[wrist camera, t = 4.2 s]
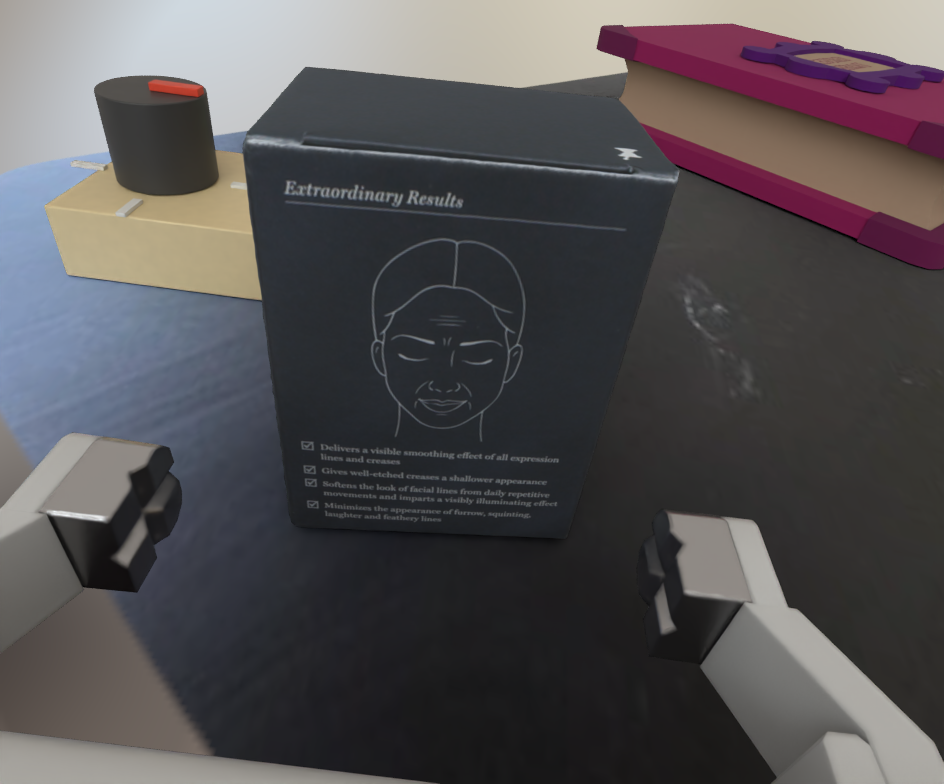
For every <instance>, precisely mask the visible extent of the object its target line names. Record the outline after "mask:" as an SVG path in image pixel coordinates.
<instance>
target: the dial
mask: <svg viewBox="0 0 944 784" xmlns="http://www.w3.org/2000/svg"><path fill="white" fill-rule="evenodd" d="M94 93H95V97H96V101H97V105H98V108H99V112H100V116H101V120H102V124H103V128H104V132H105V136H106V140H107V144H108V148H109V152H110V156H111V160H112V164H113V168H114V172H115V176H116V179H117V181H118V183H119V184H120V185H121V186H123V187H124V188H126V189H129V190H131V191H135V192H139V193H144V194H152V195H178V194H186V193H192V192H196V191H200V190H203V189H205V188H208V187H210V186H211V185H213V184H214V183H215V182H216V181H217V180H218V178H219V173H218V166H217V159H216V152H215V145H214V139H213V132H212V125H211V118H210V112H209V105H208V98H207V92H206V89H205V88H204V87H203V86H202V85H200V84H198V83H195V82H192V81H189V80H185V79H180V78H174V77H165V76H128V77H120V78H114V79H110V80H106V81H104V82H101V83H99V84H98V85H96V86H95V88H94Z"/></svg>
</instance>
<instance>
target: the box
mask: <svg viewBox="0 0 944 784" xmlns="http://www.w3.org/2000/svg"><path fill="white" fill-rule="evenodd" d="M243 159H244V167H245V175H246V184H247V195H248V201H249V213H250V220H251V226H252V233H253V240H254V245H255V258H256V263H257V269H258V278H259V283H260V289H261V296H262V307H263V319H264V323H265V329H266V336H267V344H268V354H269V361H270V369H271V379H272V384H273V394H274V399H275V409H276V418H277V423H278V431H279V435H280V446H281V450H282V459H283V466H284V479H285V484H286V490H287V499H288V507H289V515H290V518H291V522H292V523H293V524H294V525H295V526H297V527H305V528H331V529H359V530H376V531H403V532H426V533H446V534H470V535H493V536H519V537H537V538H561V539H565V538H567V536H568V534H569V531H570V528H571V524H572V521H573V518H574V515H575V511H576V508H577V505H578V502H579V500H580V496H581V493H582V489H583V486H584V483H585V480H586V476H587V473H588V470H589V467H590V464H591V461H592V457H593V454H594V451H595V448H596V445H597V441H598V437H599V434H600V431H601V427H602V424H603V421H604V418H605V415H606V412H607V409H608V405H609V402H610V398H611V395H612V392H613V389H614V384H615V382H616V379H617V377H618V373H619V370H620V366H621V363H622V360H623V357H624V354H625V351H626V347H627V343H628V340H629V337H630V333H631V330H632V327H633V324H634V321H635V318H636V315H637V311H638V308H639V305H640V302H641V299H642V294H643V290H644V287H645V285H646V282H647V279H648V275H649V271H650V268H651V265H652V262H653V259H654V256H655V252H656V249H657V246H658V243H659V240H660V237H661V234H662V231H663V228H664V224H665V220H666V216H667V213H668V209H669V206H670V203H671V200H672V197H673V194H674V192H675V189H676V186H677V183H678V174H679V169H678V167H676V166H675V165H674V164H673V163H672V162H671V161H669V160H668V158H667V157H666V156H665V155H664V153H663V152H662V151H661V150H660V148H659V147H658V146H657V145H656V143H655V142H654V141H653V140H652V138H651V137H650V136H649V134H648V133H647V132H646V130H645V129H644V127H643V126H642V125H641V124H640V123H639V121H638V120H637V119H636V118H635V117H634V115H633V114H632V113H631V112H630V111H629V110H628V109H627V107H626V106H625V105H624V104H623V103H622V102H621V101H619V100H618V99H616V98H609V97H600V96H588V95H578V94H569V93H560V92H551V91H541V90H532V89H523V88H513V87H504V86H503V87H502V86H494V85H484V84H475V83H465V82H455V81H445V80H435V79H424V78H414V77H405V76H395V75H386V74H374V73H366V72H356V71H347V70H336V69H325V68H313V67H305V68H304V69H303V70H302V71H301V72H300V73H299V74H298V75H297V76H296V77H295V78H294V80H293V81H292V82H291V83H290V84H289V86H288V87H287V88H286V89H285V90H284V91H283V92H282V93H281V95H280V96H279V97H278V98H277V99H276V101H275V102H274V103H273V104H272V106H271V107H270V108H269V109H268V110H267V111H266V112H265V113H264V114H263V115H262V117H261V118H260V119H259V120H258V121H257V122H256V123H255V124H254V125H253V126H252V128H250V130H249V131H248V132H247V134H246V138H245V141H244V143H243Z"/></svg>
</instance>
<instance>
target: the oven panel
mask: <svg viewBox="0 0 944 784" xmlns="http://www.w3.org/2000/svg"><path fill="white" fill-rule="evenodd" d="M215 152H216V159H217V166H218V173H219V178H218V180H217V181H216V182H215V183H214V184H213V185H211V186H210V187H208V188H205V189H203V190H200V191H196V192H192V193H186V194H178V195H152V194H144V193H139V192H135V191H131V190H129V189H126V188H124V187H123V186H121V185H120V184H119V183H118V181H117V179H116V176H115V172H114V168H113V164H112V162H110V163H109V164H99V163H92V162H85V161H77V160H74V161H73V162H71V163H70V164H71V166H72V167H79V168H87V169H94V170H98V171H97V172H95V173H94V174H92V175H90V176H89V177H87V178H86V179H84V180H83V181H81V182H80V183H78V184H77V185H75V186H74V187H72V188H70V189H69V190H67V191H66V192H64V193H63V194H61V195H60V196H58V197H57V198H55V199H54V200H52V201H50V202H49V203H47V204H46V205H45V206H44V207H45V210H46V213H47V216H48V219H49V222H50V225H51V228H52V231H53V234H54V237H55V240H56V243H57V246H58V249H59V252H60V255H61V258H62V261H63V264H64V267H65V270H66V273H67V274H68V275H71V276H79V277H86V278H94V279H102V280H109V281H117V282H124V283H132V284H140V285H147V286H155V287H162V288H170V289H178V290H185V291H193V292H201V293H208V294H216V295H223V296H231V297H239V298H246V299H254V300H261V301H262V296H261V289H260V283H259V278H258V269H257V263H256V258H255V245H254V240H253V233H252V226H251V220H250V213H249V201H248V195H247V184H246V175H245V167H244V159H243V154H241V153H234V152H226V151H219V150H215Z"/></svg>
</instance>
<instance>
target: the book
mask: <svg viewBox="0 0 944 784" xmlns="http://www.w3.org/2000/svg"><path fill="white" fill-rule="evenodd" d="M597 49H598V50H600V51H602V52H605V53H608V54H612V55H615V56H618V57H621V58H624V59H625V61H626V65H627V69H628V76H627V80H626V84H625V88H624V92H623V94H622V96H621V97H620V98H619V101H621V102H622V103H623V104H624V105H625V106H626V107H627V109H628V110H629V111H630V112H631V113H632V114H633V115H634V117H635V118H636V119H637V120H638V121H639V123H640V124H641V125H642V126H643V127H644V129H645V130H646V132H647V133H648V134H649V136H650V137H651V138H652V140H653V141H654V142H655V143H656V145H657V146H658V147H659V148H660V150H661V151H662V152H663V153H664V155H665V156H666V157H667V158H668V160H669V161H671V162H672V163H674V164H676V165H679V166H681V167H684V168H686V169H689V170H691V171H693V172H696V173H698V174H701V175H703V176H706V177H708V178H711V179H713V180H715V181H718V182H720V183H723V184H725V185H728V186H730V187H732V188H735V189H737V190H740V191H742V192H745V193H747V194H750V195H752V196H754V197H757V198H759V199H762V200H764V201H767V202H769V203H771V204H774V205H776V206H779V207H781V208H784V209H786V210H789V211H791V212H793V213H796V214H798V215H801V216H803V217H806V218H808V219H810V220H813V221H815V222H818V223H820V224H823V225H825V226H828V227H830V228H832V229H835V230H837V231H840V232H842V233H845V234H847V235H849V236H852V237H854V238H857V239H858V240H857V242H859V243H861V244H864V245H866V246H869V247H871V248H874V249H876V250H878V251H881V252H883V253H886V254H888V255H891V256H893V257H895V258H898V259H900V260H903V261H905V262H907V263H910V264H913V265H917V266H920V267H923V268H927V269H943V268H944V71H942V70H939V69H936V68H930V67H926V66H920V65H910V64H906V63H903V62H901V61H897V60H896V59H894V58H892V57H888V56H885V55H881V54H876V53H871V52H865V51H855V50H850V49H844V47H842V46H839V45H836V44H831V43H826V42H820V41H812V42H811V43H808V42H804V41H800V40H796V39H792V38H788V37H784V36H780V35H776V34H772V33H768V32H764V31H760V30H755V29H751V28H747V27H743V26H739V25H735V24H706V25H671V26H637V27H624V26H623V25H613V26H612V25H609V26H602V27H601V31H600V35H599V40H598V45H597Z"/></svg>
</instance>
